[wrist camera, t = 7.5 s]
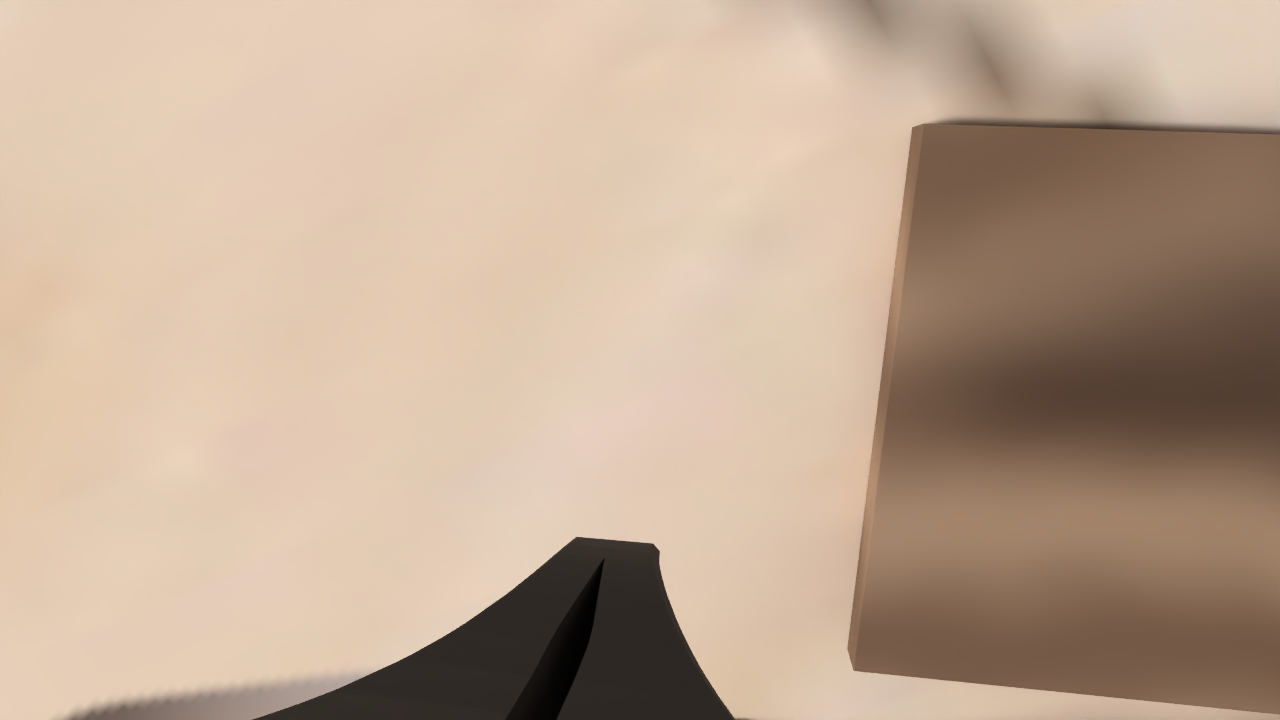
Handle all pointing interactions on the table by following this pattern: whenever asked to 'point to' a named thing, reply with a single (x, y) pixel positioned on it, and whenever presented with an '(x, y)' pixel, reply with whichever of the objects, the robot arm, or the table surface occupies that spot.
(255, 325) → the table surface
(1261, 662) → the brown wooden board
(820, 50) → the table surface
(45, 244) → the table surface
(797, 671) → the table surface
